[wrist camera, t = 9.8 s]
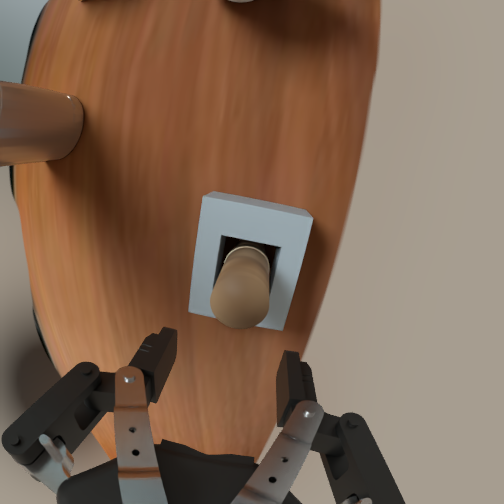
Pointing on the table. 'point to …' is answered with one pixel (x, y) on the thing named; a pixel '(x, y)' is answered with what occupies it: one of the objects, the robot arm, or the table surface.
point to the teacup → (240, 0)
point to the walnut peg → (242, 287)
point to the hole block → (253, 229)
